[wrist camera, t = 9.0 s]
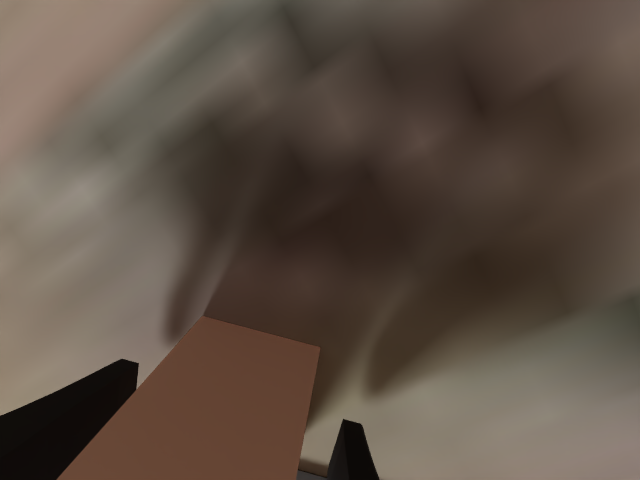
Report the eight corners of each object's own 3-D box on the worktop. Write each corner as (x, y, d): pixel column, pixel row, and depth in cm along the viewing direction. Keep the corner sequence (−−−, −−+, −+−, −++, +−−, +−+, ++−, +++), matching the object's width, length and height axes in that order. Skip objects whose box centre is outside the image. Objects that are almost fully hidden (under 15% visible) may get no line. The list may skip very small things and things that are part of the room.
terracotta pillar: (320, 347, 13) (280, 563, 6) (295, 442, 14) (239, 706, 8) (202, 315, 13) (42, 495, 7) (187, 412, 15) (41, 645, 8)
